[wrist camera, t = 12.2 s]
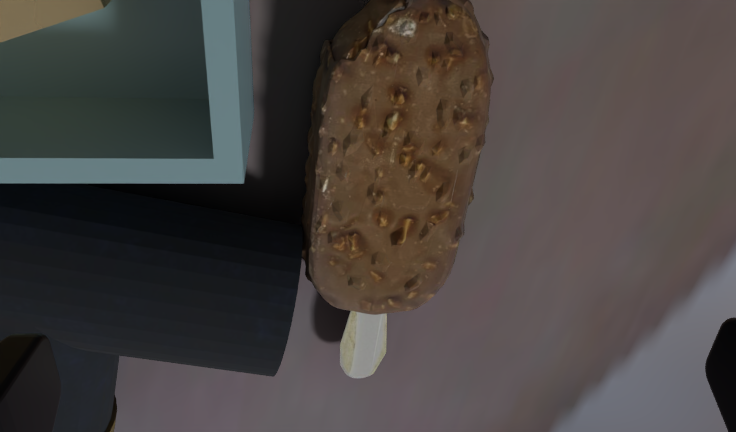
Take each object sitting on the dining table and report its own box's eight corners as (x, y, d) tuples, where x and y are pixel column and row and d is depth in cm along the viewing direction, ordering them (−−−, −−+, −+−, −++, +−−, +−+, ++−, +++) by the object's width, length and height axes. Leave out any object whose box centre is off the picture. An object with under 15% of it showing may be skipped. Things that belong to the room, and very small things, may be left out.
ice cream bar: (441, 365, 27) (537, -20, 19) (399, 444, 23) (496, 9, 15) (323, 317, 28) (366, -56, 20) (266, 384, 25) (293, -38, 17)
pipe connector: (231, 539, 24) (-251, 499, 21) (242, 424, 28) (-153, 377, 25) (303, 288, 19) (-335, 181, 15) (302, 196, 23) (-191, 98, 20)
